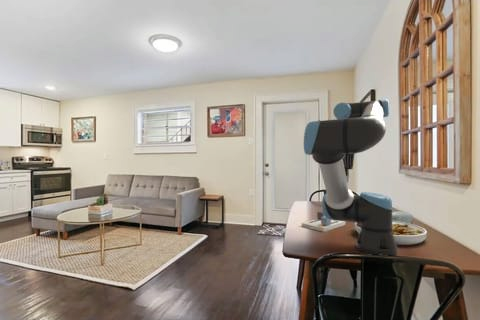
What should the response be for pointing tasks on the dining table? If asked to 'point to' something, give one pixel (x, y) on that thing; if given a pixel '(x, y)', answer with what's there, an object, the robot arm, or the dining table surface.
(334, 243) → the dining table surface
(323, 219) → the tab slate
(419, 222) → the dining table surface
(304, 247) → the dining table surface
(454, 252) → the dining table surface
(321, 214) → the tab charcoal
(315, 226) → the switch board
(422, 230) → the bowl
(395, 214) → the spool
